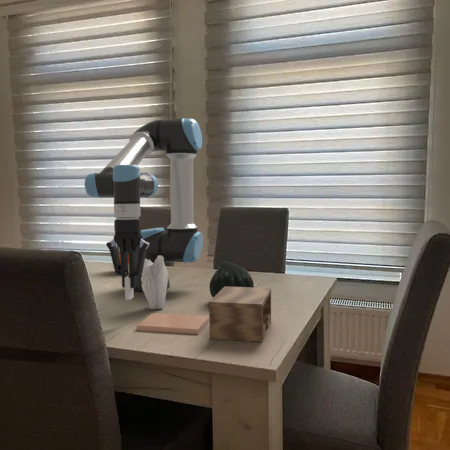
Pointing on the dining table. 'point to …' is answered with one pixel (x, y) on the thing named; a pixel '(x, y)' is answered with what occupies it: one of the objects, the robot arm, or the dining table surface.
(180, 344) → the dining table surface
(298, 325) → the dining table surface
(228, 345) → the dining table surface
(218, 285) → the squash
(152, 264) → the shell sculpture
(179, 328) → the tile
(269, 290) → the shelf
